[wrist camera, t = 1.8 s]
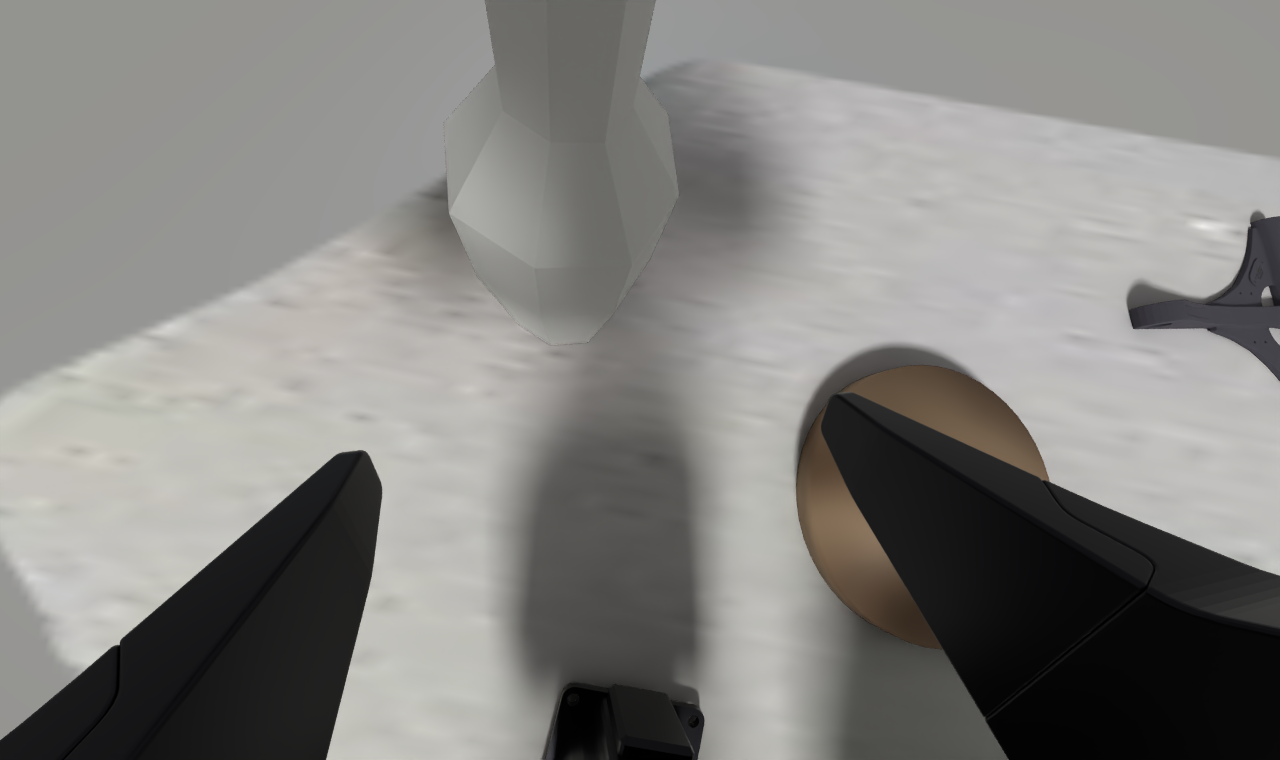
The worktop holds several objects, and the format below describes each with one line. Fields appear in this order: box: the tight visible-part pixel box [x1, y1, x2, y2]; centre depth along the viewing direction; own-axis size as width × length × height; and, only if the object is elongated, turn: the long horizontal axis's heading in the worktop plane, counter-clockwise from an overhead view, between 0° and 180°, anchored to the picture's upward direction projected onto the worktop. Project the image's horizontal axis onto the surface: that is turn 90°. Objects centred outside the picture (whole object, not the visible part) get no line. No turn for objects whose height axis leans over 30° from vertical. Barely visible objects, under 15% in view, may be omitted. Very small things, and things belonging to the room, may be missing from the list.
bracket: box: [1129, 216, 1280, 380], centre depth 30 cm, size 14×15×3 cm
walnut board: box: [797, 365, 1050, 649], centre depth 24 cm, size 14×14×2 cm
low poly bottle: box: [444, 0, 679, 345], centre depth 12 cm, size 6×6×22 cm
